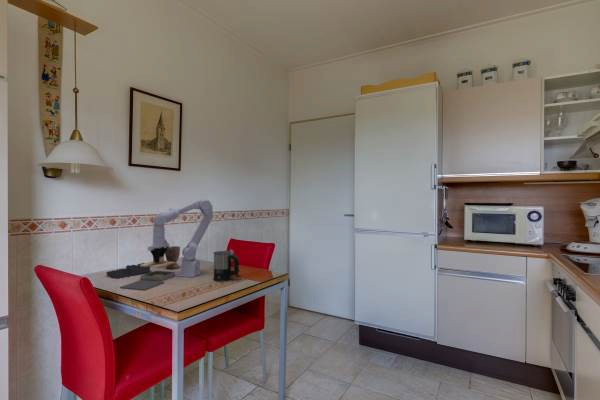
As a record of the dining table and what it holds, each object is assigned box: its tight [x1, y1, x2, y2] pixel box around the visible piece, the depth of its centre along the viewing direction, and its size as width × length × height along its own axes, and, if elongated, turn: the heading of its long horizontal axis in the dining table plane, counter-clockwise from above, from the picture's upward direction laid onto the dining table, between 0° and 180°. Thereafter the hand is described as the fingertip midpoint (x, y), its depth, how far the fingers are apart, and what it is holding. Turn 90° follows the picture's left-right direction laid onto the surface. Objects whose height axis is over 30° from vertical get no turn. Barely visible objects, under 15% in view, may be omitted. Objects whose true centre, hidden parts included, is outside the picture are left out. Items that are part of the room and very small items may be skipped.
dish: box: [140, 270, 176, 282], centre depth 168 cm, size 12×12×2 cm
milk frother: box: [212, 250, 240, 282], centre depth 171 cm, size 14×16×15 cm
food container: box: [229, 248, 235, 267], centre depth 200 cm, size 12×6×10 cm, turn 148°
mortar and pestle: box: [164, 238, 181, 270], centre depth 190 cm, size 12×9×20 cm
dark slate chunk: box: [106, 262, 153, 280], centre depth 176 cm, size 15×22×5 cm
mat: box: [119, 279, 165, 291], centre depth 153 cm, size 14×14×1 cm
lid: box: [139, 256, 177, 269], centre depth 168 cm, size 13×13×4 cm
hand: (158, 262), depth 168 cm, fingers closed on lid, 2 cm apart
